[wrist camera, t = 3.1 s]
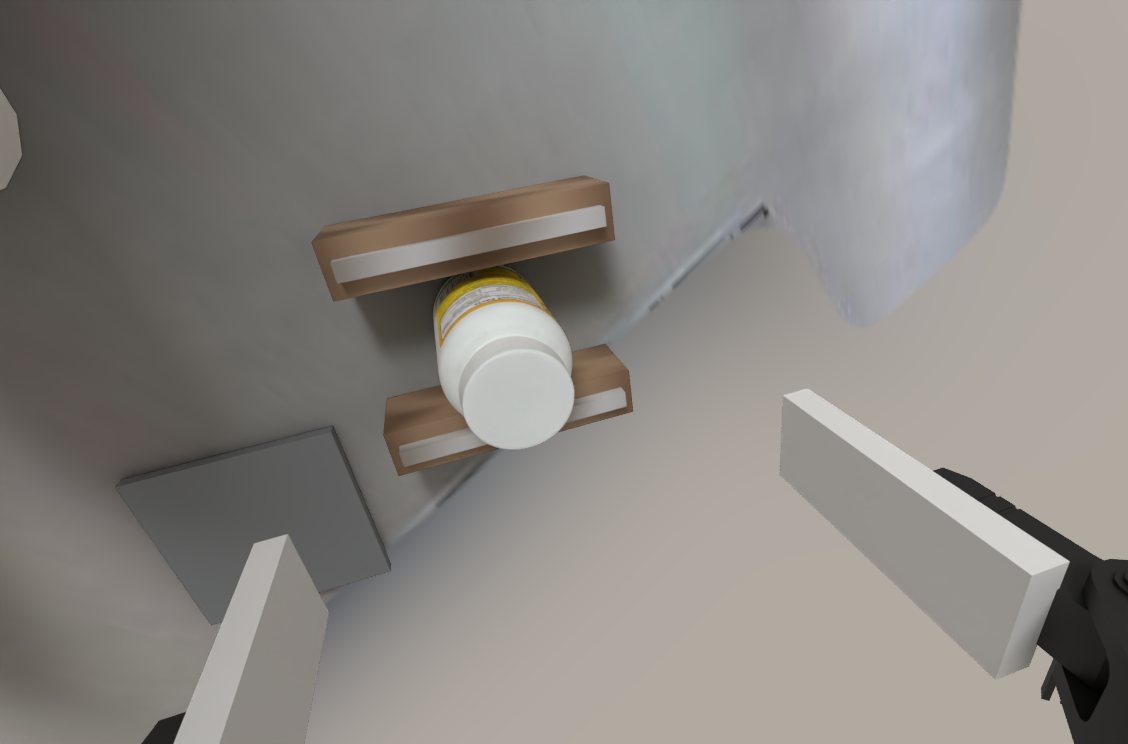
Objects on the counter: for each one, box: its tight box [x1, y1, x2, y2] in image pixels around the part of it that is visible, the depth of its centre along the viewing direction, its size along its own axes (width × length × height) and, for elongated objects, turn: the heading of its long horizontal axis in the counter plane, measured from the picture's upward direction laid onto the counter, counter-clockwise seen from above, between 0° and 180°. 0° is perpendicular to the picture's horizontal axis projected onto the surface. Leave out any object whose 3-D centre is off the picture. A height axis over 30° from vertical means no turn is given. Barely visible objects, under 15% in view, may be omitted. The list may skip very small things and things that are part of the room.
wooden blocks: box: [311, 176, 633, 476], centre depth 25 cm, size 12×11×4 cm
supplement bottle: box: [433, 265, 575, 450], centre depth 22 cm, size 5×5×10 cm
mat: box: [115, 426, 391, 625], centre depth 28 cm, size 10×10×1 cm
